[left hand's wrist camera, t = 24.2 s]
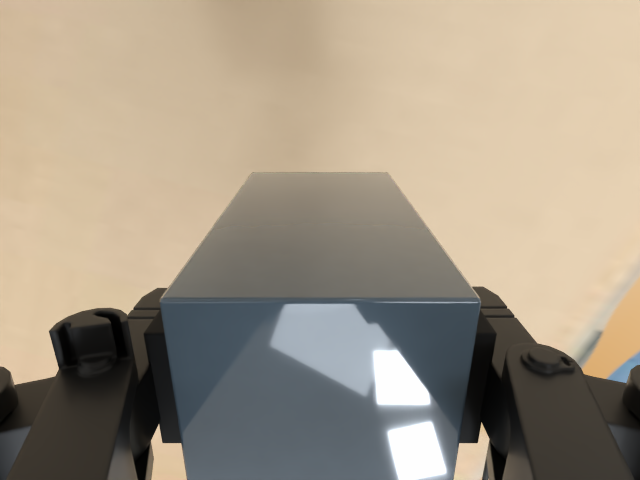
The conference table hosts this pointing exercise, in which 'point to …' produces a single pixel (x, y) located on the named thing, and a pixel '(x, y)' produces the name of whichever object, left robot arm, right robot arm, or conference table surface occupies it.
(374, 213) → the block
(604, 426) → the left robot arm
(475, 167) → the conference table surface
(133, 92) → the conference table surface
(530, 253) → the conference table surface
